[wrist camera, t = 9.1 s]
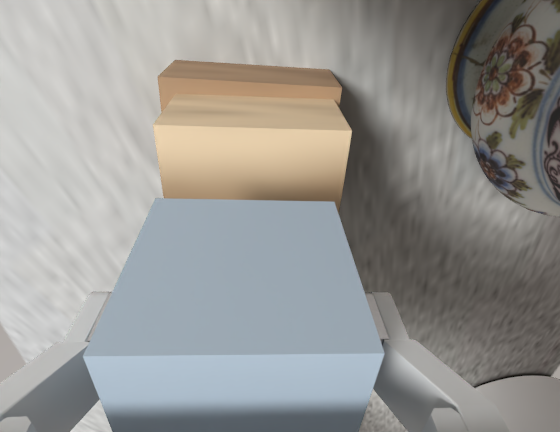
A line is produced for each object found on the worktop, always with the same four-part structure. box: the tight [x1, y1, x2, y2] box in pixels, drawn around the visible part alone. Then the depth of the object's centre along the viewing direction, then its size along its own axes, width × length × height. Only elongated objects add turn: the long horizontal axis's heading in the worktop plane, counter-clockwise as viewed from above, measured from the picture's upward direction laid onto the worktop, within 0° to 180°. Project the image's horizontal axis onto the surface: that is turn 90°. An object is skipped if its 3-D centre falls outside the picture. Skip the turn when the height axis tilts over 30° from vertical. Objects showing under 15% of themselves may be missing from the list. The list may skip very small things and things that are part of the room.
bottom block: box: [158, 60, 342, 112], centre depth 20 cm, size 8×8×4 cm
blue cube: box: [83, 198, 385, 432], centre depth 10 cm, size 5×5×5 cm
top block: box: [153, 94, 352, 214], centre depth 16 cm, size 7×7×4 cm
